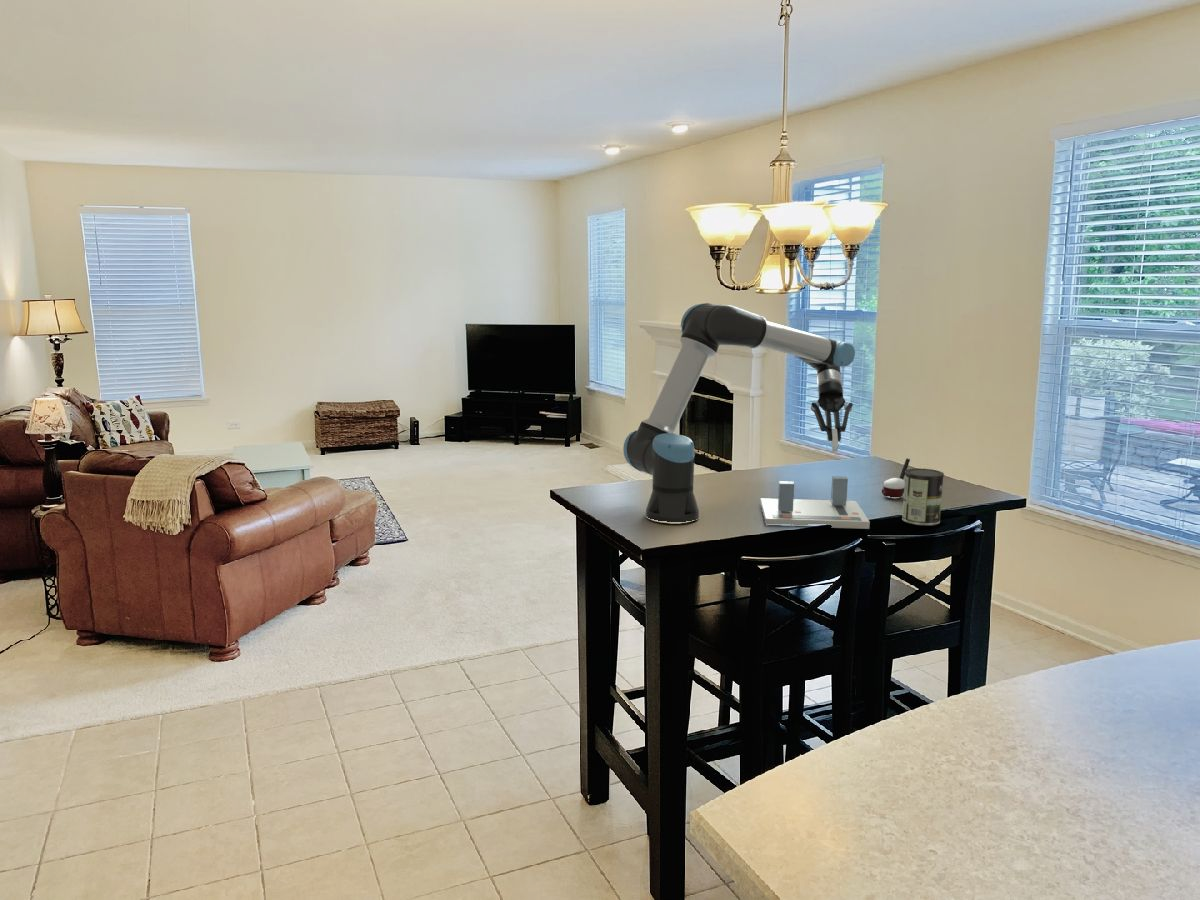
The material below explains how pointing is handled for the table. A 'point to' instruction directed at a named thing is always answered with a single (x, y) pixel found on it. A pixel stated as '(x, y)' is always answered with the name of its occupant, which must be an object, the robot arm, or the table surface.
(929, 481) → the coffee can
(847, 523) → the switch panel
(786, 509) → the left switch tab
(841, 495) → the right switch tab
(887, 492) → the cocoa
